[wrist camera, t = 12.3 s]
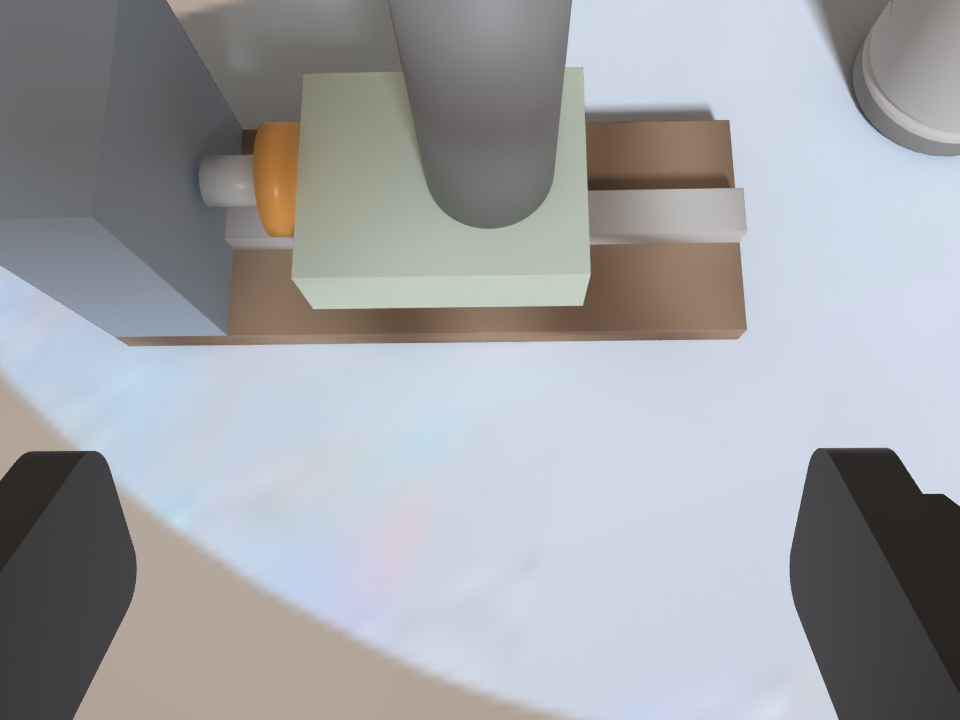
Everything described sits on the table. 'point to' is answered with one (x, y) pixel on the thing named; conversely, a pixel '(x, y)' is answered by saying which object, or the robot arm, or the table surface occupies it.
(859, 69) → the travel mug
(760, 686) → the table surface
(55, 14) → the end cabinet
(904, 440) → the table surface
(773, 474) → the table surface
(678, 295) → the track
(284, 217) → the button
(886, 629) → the robot arm
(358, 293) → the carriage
